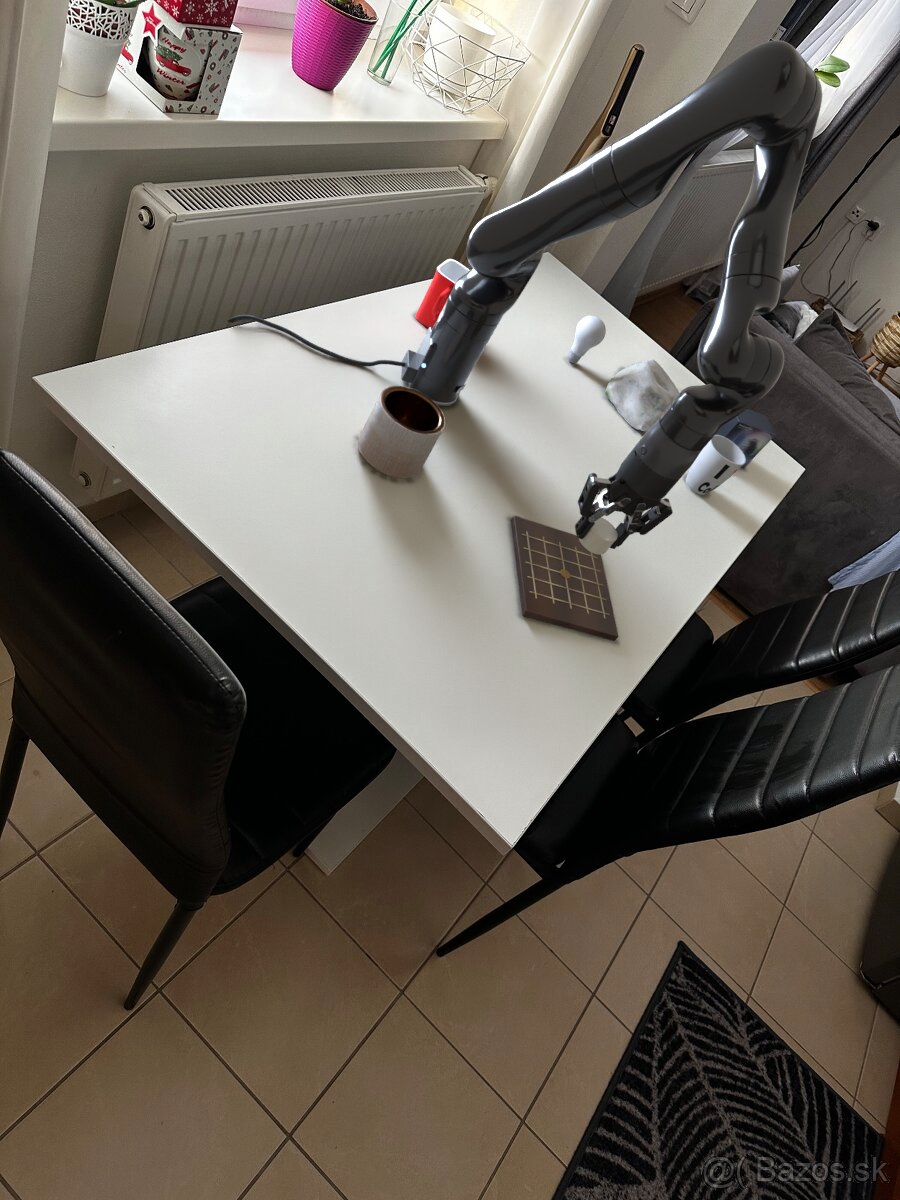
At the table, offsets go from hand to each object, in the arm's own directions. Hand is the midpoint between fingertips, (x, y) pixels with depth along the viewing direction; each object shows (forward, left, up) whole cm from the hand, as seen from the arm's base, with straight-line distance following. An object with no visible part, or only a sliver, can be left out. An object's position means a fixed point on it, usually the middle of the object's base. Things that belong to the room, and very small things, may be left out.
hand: (594, 539), depth 127 cm
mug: (-20, +59, -10) cm, 63 cm away
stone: (+29, +63, -10) cm, 70 cm away
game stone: (0, 0, -1) cm, 1 cm away
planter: (-29, +16, -10) cm, 35 cm away
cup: (+37, +38, -10) cm, 54 cm away
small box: (+48, +53, -10) cm, 72 cm away
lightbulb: (+12, +66, -10) cm, 68 cm away
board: (0, 0, -10) cm, 10 cm away
